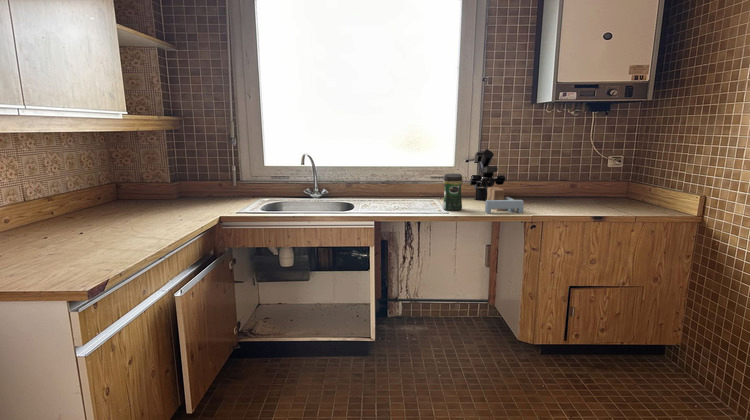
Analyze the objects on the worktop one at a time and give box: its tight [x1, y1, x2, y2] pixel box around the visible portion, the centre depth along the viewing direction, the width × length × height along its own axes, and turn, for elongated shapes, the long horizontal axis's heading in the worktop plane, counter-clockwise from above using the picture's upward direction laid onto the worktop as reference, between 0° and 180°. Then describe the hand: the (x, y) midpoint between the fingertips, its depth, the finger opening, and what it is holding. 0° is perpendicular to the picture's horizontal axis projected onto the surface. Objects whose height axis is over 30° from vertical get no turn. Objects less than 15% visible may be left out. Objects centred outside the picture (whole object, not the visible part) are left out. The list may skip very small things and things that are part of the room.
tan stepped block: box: [487, 186, 506, 212], centre depth 228 cm, size 16×5×10 cm, turn 3°
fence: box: [484, 196, 525, 214], centre depth 221 cm, size 12×18×6 cm, turn 93°
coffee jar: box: [442, 173, 463, 212], centre depth 224 cm, size 10×8×19 cm
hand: (490, 192), depth 238 cm, fingers closed
